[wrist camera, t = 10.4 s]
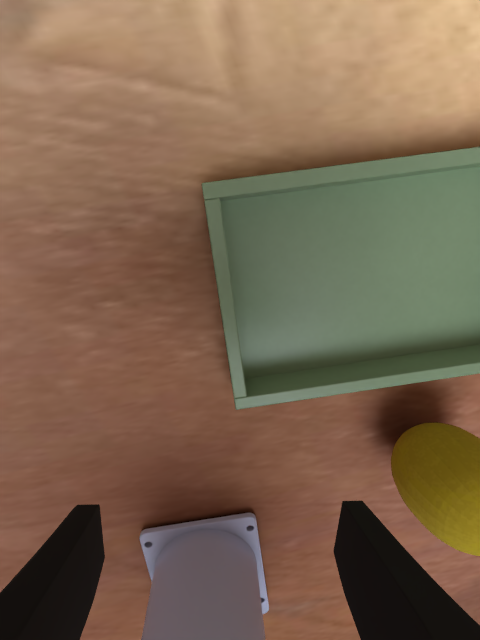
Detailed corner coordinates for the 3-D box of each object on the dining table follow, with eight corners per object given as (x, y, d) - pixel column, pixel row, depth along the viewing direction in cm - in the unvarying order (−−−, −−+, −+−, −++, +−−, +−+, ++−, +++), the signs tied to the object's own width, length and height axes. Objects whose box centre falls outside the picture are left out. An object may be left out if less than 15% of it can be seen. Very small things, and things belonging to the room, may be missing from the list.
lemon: (444, 387, 21) (574, 481, 13) (454, 455, 23) (577, 574, 15) (361, 414, 21) (443, 521, 13) (377, 479, 23) (459, 610, 15)
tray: (508, 346, 20) (549, 363, 18) (233, 387, 20) (235, 410, 17) (531, 146, 17) (585, 132, 15) (203, 189, 17) (201, 182, 14)
